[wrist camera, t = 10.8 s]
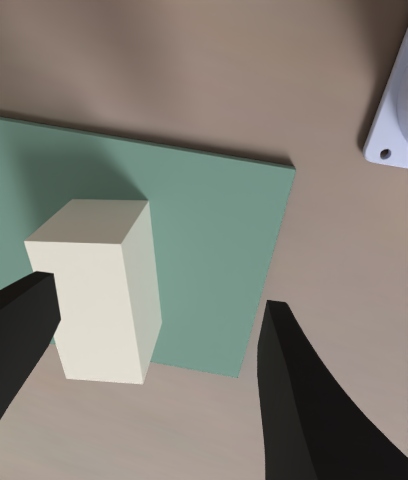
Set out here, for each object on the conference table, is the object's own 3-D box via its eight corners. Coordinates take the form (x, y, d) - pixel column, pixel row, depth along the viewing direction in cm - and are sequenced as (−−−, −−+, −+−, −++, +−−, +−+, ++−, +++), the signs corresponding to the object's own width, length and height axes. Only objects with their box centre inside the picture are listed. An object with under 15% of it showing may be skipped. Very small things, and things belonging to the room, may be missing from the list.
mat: (294, 166, 18) (296, 169, 18) (238, 371, 26) (237, 378, 26) (-36, 110, 19) (-45, 112, 18) (5, 328, 27) (0, 334, 26)
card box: (161, 322, 24) (143, 384, 19) (98, 319, 24) (66, 378, 20) (148, 200, 20) (120, 244, 15) (72, 199, 20) (23, 241, 16)
